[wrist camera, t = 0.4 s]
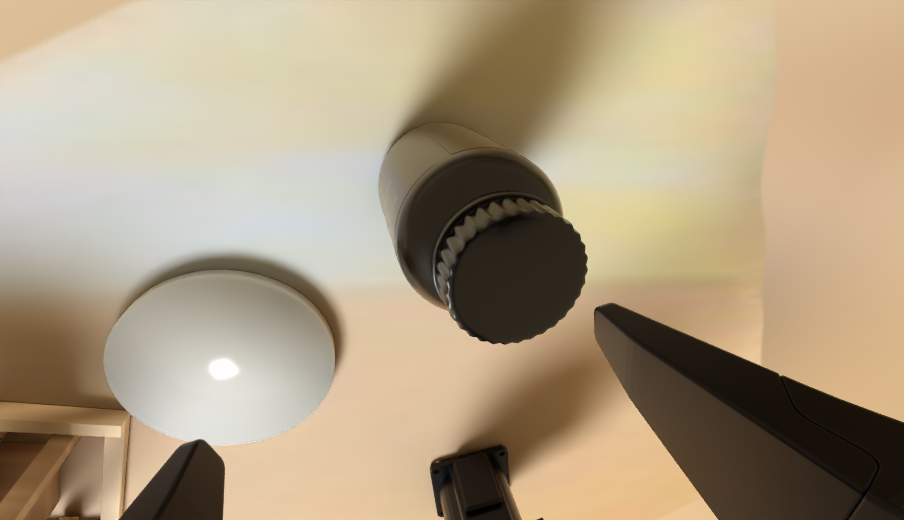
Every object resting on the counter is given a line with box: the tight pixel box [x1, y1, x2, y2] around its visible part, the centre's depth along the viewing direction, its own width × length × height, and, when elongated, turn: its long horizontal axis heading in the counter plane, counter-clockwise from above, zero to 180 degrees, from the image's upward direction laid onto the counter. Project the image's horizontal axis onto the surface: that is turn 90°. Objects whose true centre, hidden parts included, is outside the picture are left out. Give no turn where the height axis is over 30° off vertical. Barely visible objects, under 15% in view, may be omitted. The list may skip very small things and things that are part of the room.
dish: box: [103, 270, 335, 445], centre depth 24 cm, size 12×12×1 cm
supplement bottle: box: [379, 123, 588, 345], centre depth 18 cm, size 7×7×12 cm
